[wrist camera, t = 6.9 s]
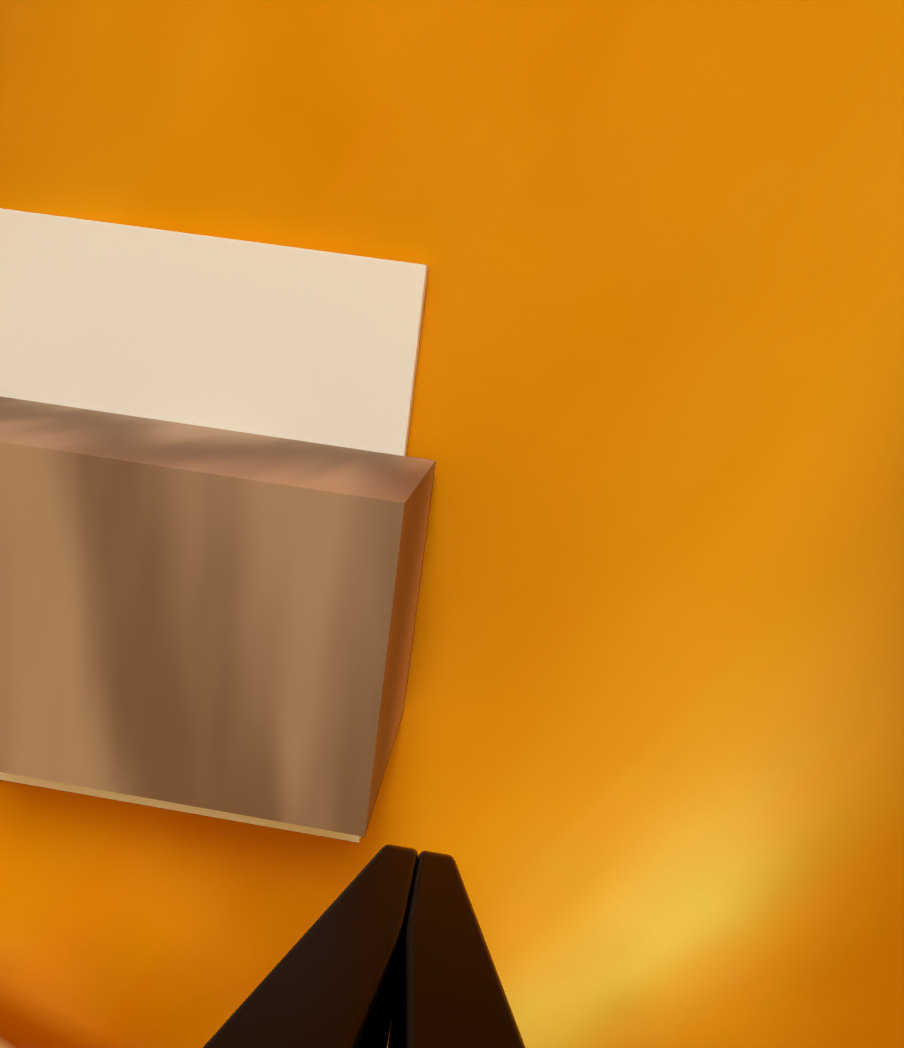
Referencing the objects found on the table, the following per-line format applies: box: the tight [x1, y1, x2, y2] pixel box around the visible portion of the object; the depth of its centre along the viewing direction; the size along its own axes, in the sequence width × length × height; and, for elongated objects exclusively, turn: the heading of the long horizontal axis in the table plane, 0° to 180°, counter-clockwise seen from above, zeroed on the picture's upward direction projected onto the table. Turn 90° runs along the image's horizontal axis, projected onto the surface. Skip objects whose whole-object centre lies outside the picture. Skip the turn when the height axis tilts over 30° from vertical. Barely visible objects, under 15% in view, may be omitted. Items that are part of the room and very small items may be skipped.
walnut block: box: [0, 396, 436, 837], centre depth 15 cm, size 5×7×12 cm
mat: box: [0, 208, 428, 843], centre depth 18 cm, size 14×16×1 cm
